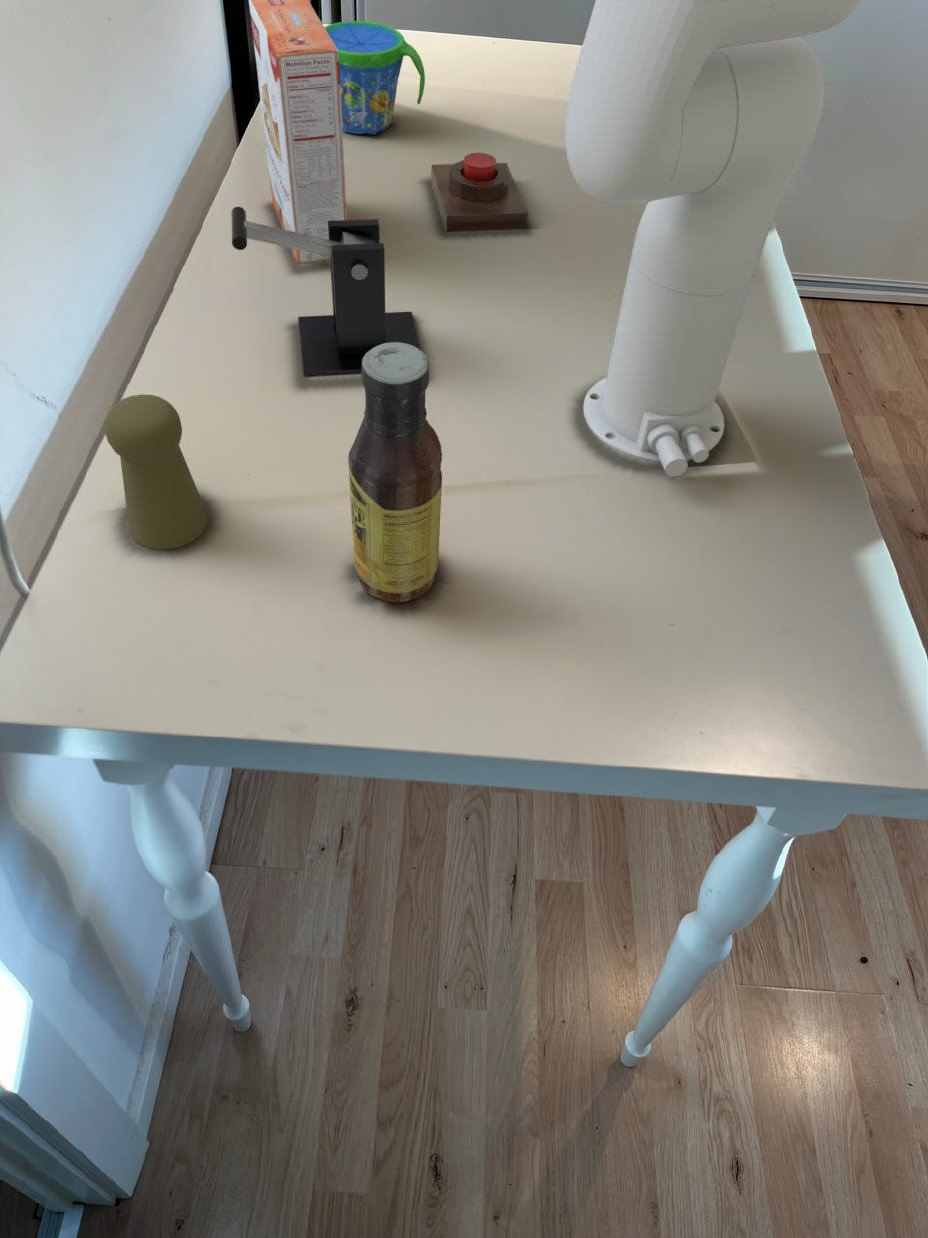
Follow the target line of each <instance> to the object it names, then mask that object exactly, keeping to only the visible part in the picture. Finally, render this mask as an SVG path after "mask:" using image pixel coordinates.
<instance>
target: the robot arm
mask: <svg viewBox="0 0 928 1238" xmlns="http://www.w3.org/2000/svg"><path fill="white" fill-rule="evenodd" d="M862 2H863V0H595V2H594V6H593V9H592V12H591V16H590V19H589V22H588V26H587V28H586V32H585V36H584V39H583V41H582V42H583V43H582V46H581V49H580V52H579V56H578V60H577V62H576V67H575V70H574V74H573V77H572V81H571V86H570V89H569V93H568V99H567V105H566V111H565V117H564V119H565V120H564V146H565V154H566V155H565V156H566V159H567V160H566V161H567V164H568V166H569V167H568V168H569V170H570V172H571V175H572V177H573V179H574V181H575V182H576V184H577V185H578V187H579V188H580V189H581V191H582V192H584V193H585V194H586V195H587V196H589V197H590V198H592V199H593V200H595V201H596V202H599V203H603V204H605V205H610V206H611V205H613V206H624V205H625V206H627V205H636V204H637V205H638V204H643V203H647V205H646V207H645V209H644V211H643V214H642V215H641V217H640V218H641V219H640V221H639V223H638V227H637V229H636V233H635V237H634V242H633V246H632V251H631V256H630V261H629V265H628V271H627V275H626V278H625V279H626V281H625V285H624V290H623V295H622V299H621V303H620V304H621V305H620V310H619V315H618V319H617V324H616V330H615V333H614V334H615V335H614V339H613V344H612V349H611V353H610V358H609V363H608V369H607V373H606V377H603V379H600V380H599V381H598V382H596V383H594V384H593V386H591V388H590V389H589V390H588V391H587V392H586V394H585V397H584V400H583V405H582V411H583V417H584V420H585V422H586V424H587V426H588V427H589V429H590V430H591V432H592V433H593V434H594V435H595V436H596V437H597V438H598V439H599V440H600V441H601V442H603V443H604V444H606V445H607V446H609V448H611V449H613V450H616V451H618V452H619V453H621V454H624V455H626V456H629V457H632V458H635V459H639V460H643V461H649V462H656V463H658V462H659V463H661V466H662V469H663V470H664V472H665V475H666V476H668V477H675V478H676V477H678V476H681V475H682V474H684V473H685V472H687V471H686V470H687V469H688V466H689V465H688V463H689V462H688V461H690V460H692V461H693V462H694V463H698V464H699V463H703V462H704V461H706V460H707V459H708V458H709V456H710V451H712V450H713V449H714V448H716V446H717V445H718V444H719V442H720V441H721V439H722V437H723V434H724V430H725V417H724V414H723V412H722V409H721V408H720V406H719V405H718V403H717V402H716V397H717V395H718V392H719V391H718V390H719V387H720V384H721V381H722V377H723V374H724V373H725V369H726V367H727V366H726V365H727V362H728V359H729V356H730V353H731V349H732V347H733V343H734V340H735V338H736V334H737V331H738V327H739V324H740V321H741V318H742V315H743V312H744V309H745V305H746V302H747V299H748V296H749V293H750V290H751V286H752V283H753V281H754V278H755V275H756V272H757V270H758V265H759V263H760V260H761V256H762V253H763V250H764V248H765V244H766V242H767V239H768V236H769V233H770V231H771V228H772V225H773V223H774V220H775V217H776V215H777V213H778V211H779V209H780V206H781V204H782V202H783V201H784V198H785V196H786V194H787V192H788V189H789V188H790V186H791V184H792V182H793V181H794V179H795V177H796V175H797V173H798V171H799V169H800V168H801V166H802V164H803V162H804V160H805V158H806V156H807V154H808V152H809V149H810V148H811V146H812V143H813V141H814V139H815V136H816V133H817V130H818V127H819V125H820V120H821V116H822V112H823V106H824V105H823V104H824V96H825V93H824V92H825V91H824V90H825V89H824V88H825V85H824V78H823V72H822V67H821V66H820V62H819V59H818V58H817V56H816V54H815V52H814V50H813V49H812V48H811V46H810V45H809V44H808V43H807V42H806V41H805V40H804V39H803V38H802V37H804V36H808V35H809V36H810V35H815V34H817V33H821V32H824V31H827V30H830V29H832V28H834V27H837V25H840V24H841V23H842V22H844V21H845V20H846V19H848V18H849V17H850V16H851V15H852V14H853V13H854V11H855V10H856V9H858V6H859V5H860V4H861V3H862ZM592 397H595V398H597V399H594V398H592ZM712 429H713V430H717V431H713V430H712ZM608 436H609V437H610V436H611V437H613V438H608Z"/></svg>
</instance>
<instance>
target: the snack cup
mask: <svg viewBox="0 0 928 1238" xmlns="http://www.w3.org/2000/svg"><path fill="white" fill-rule="evenodd" d="M324 28H325V29H326V31H327V33H328V34H329V36H330V38H331V39H332V41H333V43H334V44H335V46H336V48H337V50H338V53H339V72H340V91H341V113H342V132H344V133H351V134H356V135H362V134H363V135H364V134H368V135H374V136H375V135H377V134H378V133H380V132H384V131H385V130H387V129H388V128H389V127H391V125H392V122H393V120H394V119H393V118H394V111H395V104H396V97H397V88H398V83H399V77H400V74H401V69H402V65H403V60H404V57H409V58H410V59H411V61H412V63H413V65H414V67H415V69H416V71H417V73H418V75H419V76H420V77H419V89H418V98H417V100H416V103H417V104H418V105H421V103H422V99H423V95H424V90H425V84H426V73H425V68H424V64H423V61H422V58H421V56H420V54H419V53H418V51H417V50H416V49H415V48H414V47H413V46H412V45H411V44H410V43H408V42H406V40H405V38H404V35H403V34H402V33H401V32H400V31H398V30H397V29H395V28H393V27H391V26H388V25H386V24H381V23H378V22H372V21H365V20H349V21H348V20H347V21H340V22H335V23H331V24H327V25H326V26H324Z"/></svg>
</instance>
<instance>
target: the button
mask: <svg viewBox="0 0 928 1238" xmlns="http://www.w3.org/2000/svg"><path fill="white" fill-rule="evenodd" d="M463 160H464V167H463V176H464V177H465V178H467V179H469V180H474V181H490V180H492V179H494V178H495V171H496V162H497V159H496V157H495V156H493V155H492V154H490V153H486V152H471V153H467V154H466V155H465V156H464V157H463Z"/></svg>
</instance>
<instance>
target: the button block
mask: <svg viewBox="0 0 928 1238" xmlns="http://www.w3.org/2000/svg"><path fill="white" fill-rule="evenodd" d="M463 167H464V159H463V160H460V161H457V162H455V163H448V164H447V163H446V164H431V170H430V171H431V175H430V176H431V177H430V183H431V187H432V190H433V194H434V197H435V201H436V205H437V208H438V210H439V215H440V217H441V221H442V225H443V228H444V231H445V233H458V232H485V231H488V232H489V231H515V230H516V231H519V230H527V224H528V215H529V214H528V211H527V209H526V206H525V204H524V201H523V199H522V197H521V194H520V192H519V189H518V186H517V184H516V182H515V180H514V177H513V175H512V173H511V170H510V167H509V165H508V163H507V162H498V161H496V171H495V178H494V179H492V180H490V181H474V180H469V179H467V178H465V177H464V176H463Z"/></svg>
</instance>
